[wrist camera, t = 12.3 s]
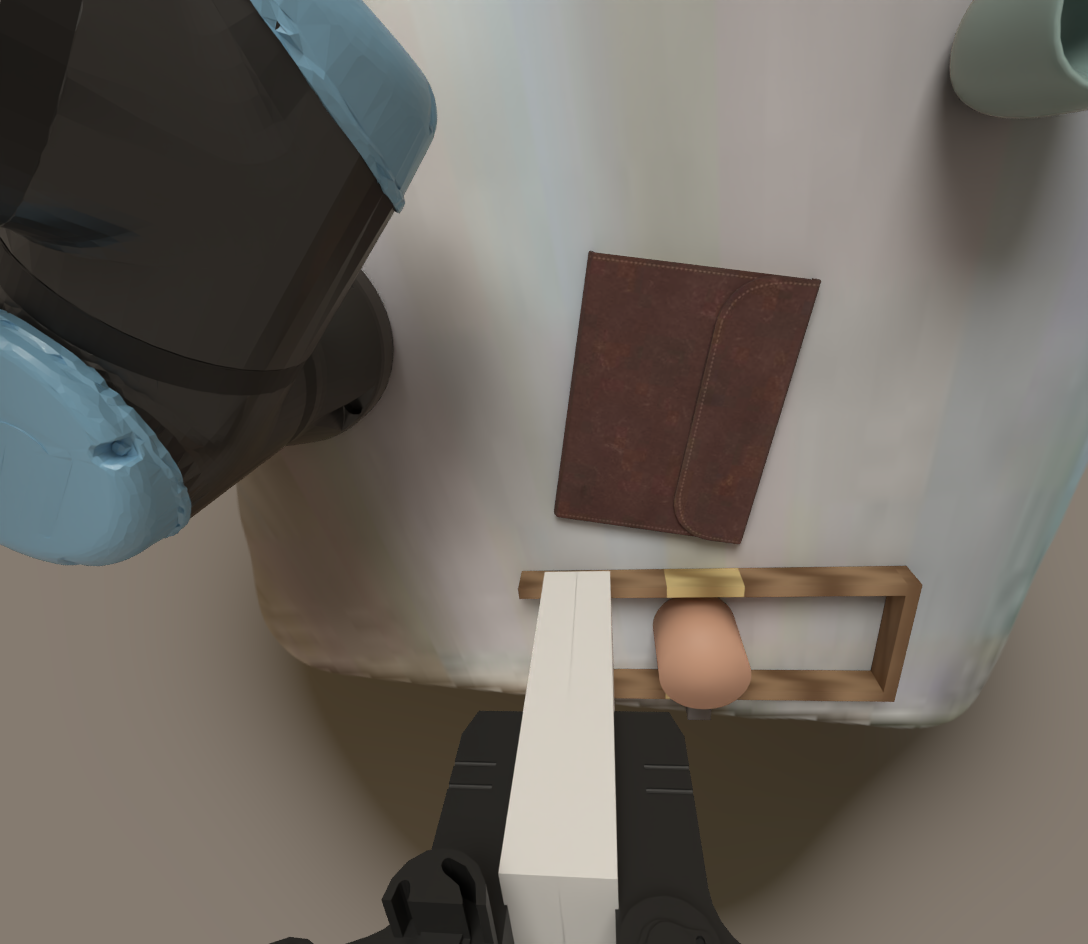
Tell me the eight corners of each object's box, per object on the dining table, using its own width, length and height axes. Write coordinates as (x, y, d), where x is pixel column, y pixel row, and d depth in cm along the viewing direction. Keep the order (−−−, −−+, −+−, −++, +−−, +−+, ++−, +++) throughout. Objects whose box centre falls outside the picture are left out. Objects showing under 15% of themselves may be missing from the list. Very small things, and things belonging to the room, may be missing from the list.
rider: (653, 656, 51) (659, 708, 46) (652, 593, 48) (659, 641, 43) (732, 655, 51) (748, 709, 45) (736, 591, 48) (754, 641, 42)
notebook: (554, 506, 46) (552, 519, 44) (589, 250, 38) (588, 252, 36) (738, 532, 46) (744, 545, 44) (815, 278, 37) (826, 281, 35)
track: (536, 695, 55) (533, 717, 52) (521, 571, 49) (518, 588, 46) (876, 700, 51) (889, 723, 49) (906, 565, 45) (922, 584, 43)
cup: (1040, 137, 33) (1208, 111, 24) (903, 121, 33) (1017, 89, 24) (1113, -36, 29) (1342, -144, 20) (960, -52, 30) (1119, -166, 20)
